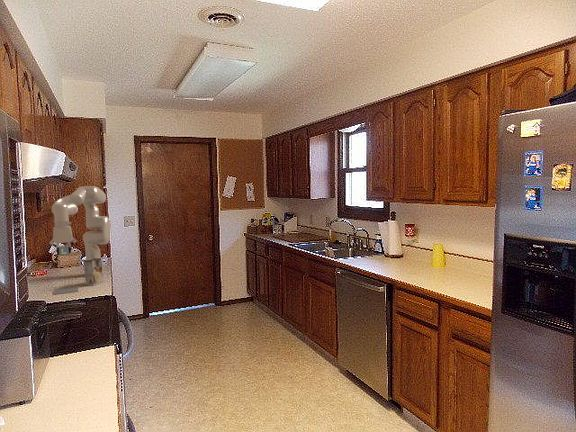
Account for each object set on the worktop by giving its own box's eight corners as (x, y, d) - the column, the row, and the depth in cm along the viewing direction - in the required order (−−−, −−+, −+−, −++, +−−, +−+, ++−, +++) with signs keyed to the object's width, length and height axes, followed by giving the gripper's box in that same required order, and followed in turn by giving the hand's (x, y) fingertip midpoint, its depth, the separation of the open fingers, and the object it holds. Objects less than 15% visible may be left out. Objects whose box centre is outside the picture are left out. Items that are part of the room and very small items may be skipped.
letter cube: (59, 254, 238) (59, 246, 238) (69, 253, 241) (68, 245, 240) (59, 255, 234) (58, 247, 233) (68, 254, 236) (68, 246, 236)
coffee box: (94, 281, 261) (93, 258, 259) (103, 281, 259) (101, 258, 258) (85, 285, 252) (83, 260, 250) (93, 285, 251) (92, 261, 249)
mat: (54, 289, 242) (54, 289, 242) (78, 286, 248) (78, 286, 248) (53, 294, 231) (53, 294, 231) (78, 291, 237) (78, 291, 237)
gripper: (77, 222, 243) (79, 251, 245) (45, 224, 235) (48, 254, 236) (77, 223, 236) (80, 253, 238) (45, 226, 228) (47, 256, 230)
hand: (64, 253), depth 237 cm, fingers closed on letter cube, 5 cm apart
